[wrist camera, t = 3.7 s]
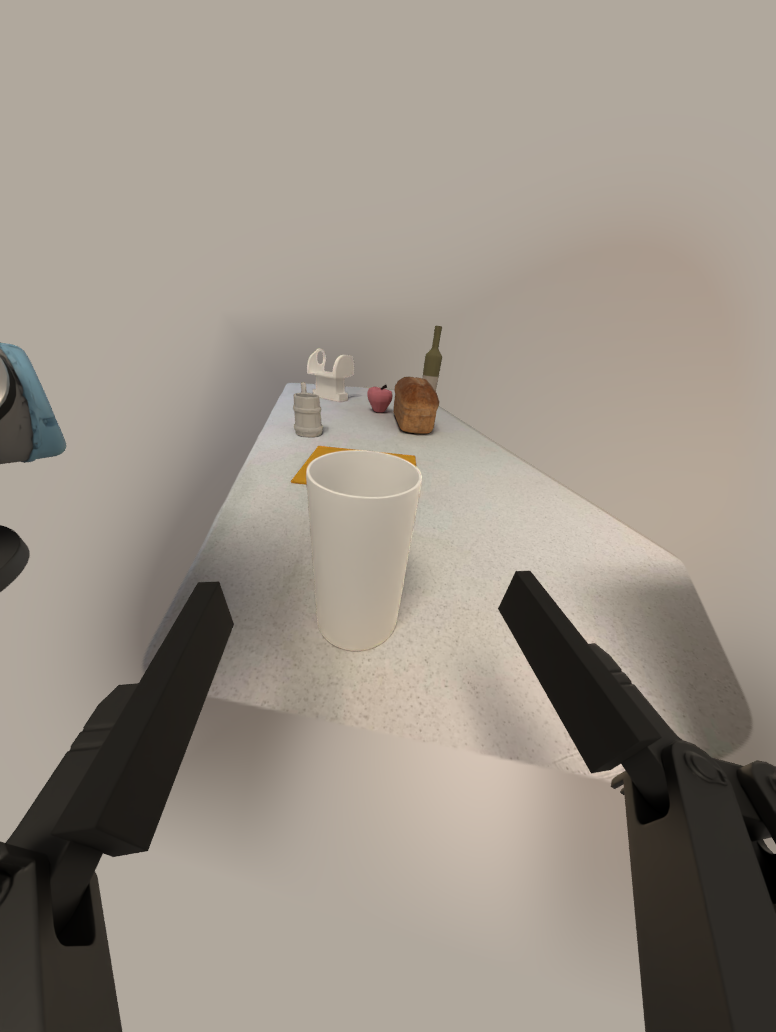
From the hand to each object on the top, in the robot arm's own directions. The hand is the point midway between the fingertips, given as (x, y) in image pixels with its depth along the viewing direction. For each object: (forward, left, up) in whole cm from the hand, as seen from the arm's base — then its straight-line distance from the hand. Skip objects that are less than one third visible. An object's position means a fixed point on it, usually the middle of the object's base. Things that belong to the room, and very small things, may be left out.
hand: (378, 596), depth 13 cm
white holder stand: (-28, +119, -14) cm, 123 cm away
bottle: (+14, +124, -14) cm, 125 cm away
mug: (-24, +69, -14) cm, 74 cm away
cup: (-2, +10, -14) cm, 17 cm away
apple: (-6, +102, -14) cm, 103 cm away
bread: (+6, +89, -14) cm, 90 cm away
